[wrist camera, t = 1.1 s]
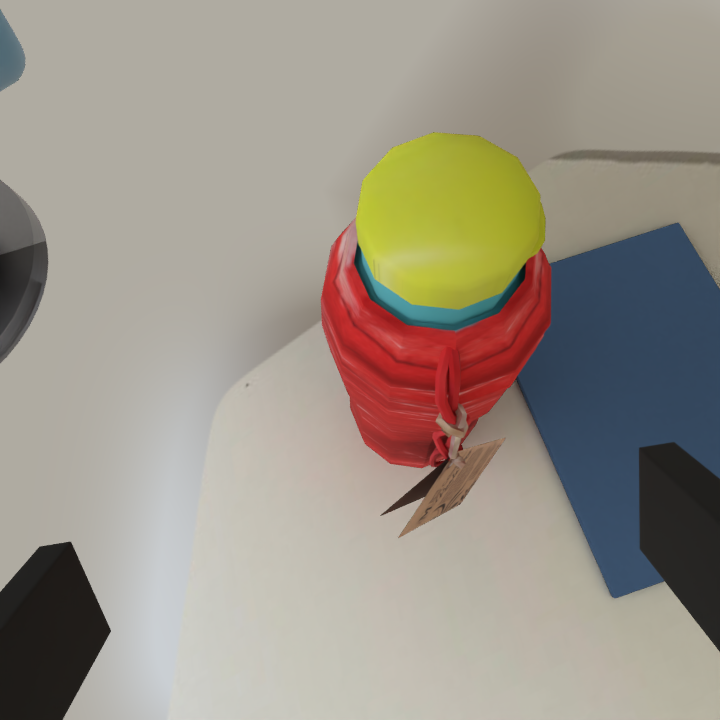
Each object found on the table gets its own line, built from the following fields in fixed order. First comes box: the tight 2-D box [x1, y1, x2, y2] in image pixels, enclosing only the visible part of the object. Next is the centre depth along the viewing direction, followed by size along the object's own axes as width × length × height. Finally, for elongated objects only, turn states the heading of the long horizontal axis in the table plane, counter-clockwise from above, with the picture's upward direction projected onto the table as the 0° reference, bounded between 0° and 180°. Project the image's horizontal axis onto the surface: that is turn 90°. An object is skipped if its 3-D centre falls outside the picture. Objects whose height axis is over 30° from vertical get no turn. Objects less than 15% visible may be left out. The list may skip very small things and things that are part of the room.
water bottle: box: [321, 132, 551, 538], centre depth 23 cm, size 12×8×25 cm, turn 7°
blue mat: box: [516, 223, 720, 598], centre depth 35 cm, size 22×16×1 cm
